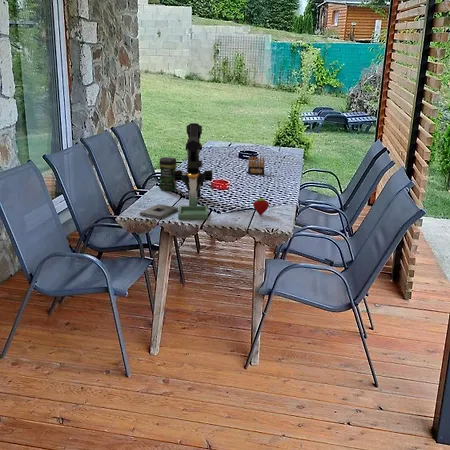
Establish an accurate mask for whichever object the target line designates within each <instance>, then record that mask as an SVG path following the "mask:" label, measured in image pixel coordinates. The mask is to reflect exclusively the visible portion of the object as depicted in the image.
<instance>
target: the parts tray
mask: <svg viewBox="0 0 450 450" xmlns="http://www.w3.org/2000/svg"><path fill="white" fill-rule="evenodd" d="M177 214H178V215H177V216H178V217H177V218H178V220H208V219H209V218H208V217H209V215H208V214H209V212H208V205H197V207H194V208H193V207H189V205H179V207H178V213H177Z"/></svg>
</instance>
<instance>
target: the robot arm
mask: <svg viewBox="0 0 450 450" xmlns="http://www.w3.org/2000/svg"><path fill="white" fill-rule="evenodd" d="M202 134H203V125H201V124H199V123H197V122H195V123H194V122H192V123H191V122H190V123H189V124H188V125H186V135H187V138H188V139H187V140H186V143H185V151H186V153H187V166H186V172H183V170H178V169H176V170H175V171H174V180H175V181H177V182H182V183H184V184H185V187H186V189H187V192H188V194H186V197H187V196H188V197H187V198H189V177H188V173H198V177H197V197H198V198H201V197H200V196H202V197H203V195H202V194H201V188H202V187H204V183H205V181H206V182H212V181H213V170H211V169H209V170H206V169H205V170H203V173H202V172H201V170H200V168H202V167H203V160H200V152H201V151H202V150H203V145H202V143H201V141H200V140H201V138H202V136H201V135H202Z"/></svg>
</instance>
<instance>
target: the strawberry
mask: <svg viewBox="0 0 450 450" xmlns="http://www.w3.org/2000/svg"><path fill="white" fill-rule="evenodd" d="M269 206H270V204H269V202H268V201H267V199H266V198H262V197H259V198H257V199H256V198H255V201H254V202H253V208H254V210H255V212H257V213H258V215H259V216H262V215H264V213H265V212H266V211H267V210H268V209H269Z"/></svg>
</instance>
